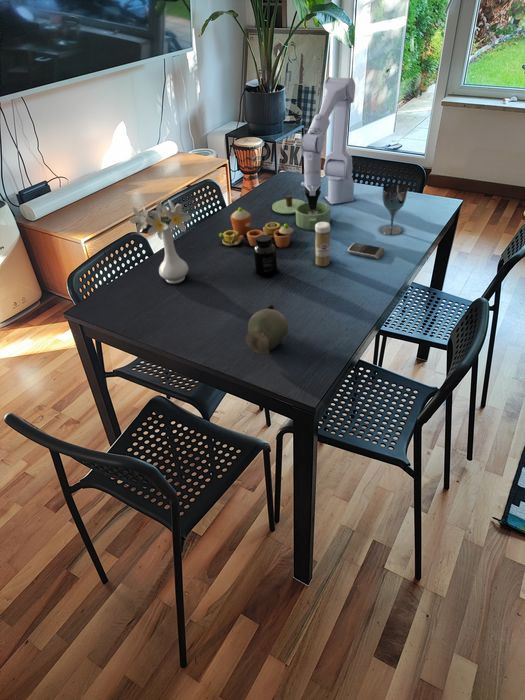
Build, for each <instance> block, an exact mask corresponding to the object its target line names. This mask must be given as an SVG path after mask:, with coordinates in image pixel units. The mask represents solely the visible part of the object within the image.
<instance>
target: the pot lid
mask: <svg viewBox="0 0 525 700" xmlns="http://www.w3.org/2000/svg"><path fill="white" fill-rule="evenodd" d="M302 203H306V202H305V200H302V199H297V198H293V195H291V194H286V195H285V198H284V199H280V200H277V201H275V202H273V204H272V205H271V209H272V210H273V211H274V212H276V213H277V214H282V215H283V214H284V215H292V214H293V215H294V214H296V207H297V206H298V205H300V204H302Z"/></svg>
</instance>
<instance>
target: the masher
mask: <svg viewBox="0 0 525 700" xmlns="http://www.w3.org/2000/svg"><path fill="white" fill-rule="evenodd" d="M317 214H318V211H314V210H312V211H308V215H317Z"/></svg>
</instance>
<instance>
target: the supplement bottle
mask: <svg viewBox="0 0 525 700" xmlns="http://www.w3.org/2000/svg"><path fill="white" fill-rule="evenodd" d="M253 255H254V256H253V258H254V267H255V273H256V275H257V276H259V277H261V278H271V277H273V276H275V275H277V273H278V262H277V261H278V260H277V248H276V245H275V244H274V243H273V237H271V236H270V235H260V236H258V237H257V238H256V246H254V247H253Z"/></svg>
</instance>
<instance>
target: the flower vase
mask: <svg viewBox="0 0 525 700" xmlns="http://www.w3.org/2000/svg"><path fill="white" fill-rule="evenodd" d="M167 202H168V204H167V205H165V206H163V204H162V203H161V202H158V203H157V204H156V206H155V210H154V209H153V210H150V211H148V209H146V207H145V206H142V210H141V211H139V210H138V209H137V208H136V207H135V206H133V207H132V211H133V214H134V215H135V216H131V217H130V218H129V222H130V223H131V224H136V232H137V233H138V234H139V233H142V232H143V230H145V229H147V227H148V225H149V226H151V227H149V229H148V230H147V235H148V236H150V237H151V236H154V235H155V234H157V237H158V238H159V240H162V242H163V248H164V257H163V260H162V262H161V263H160V264H159V267H158V273H159V276H160V277H161V278H162V279H163V280H165V281H166V283H168V284H179V283H182V282H183V281H184V280H185V279H186V276H187V275H188V273H189V265H188V263H187V262H186V261H185V260H184V259H183V258H181V257H180V256H179V254H178V253H177V250H176V248H175V243H174V239H173V230H174V229H175V228H176V227H177V228H178V229H179V230H180V231H181V232H184V233H185V232H186V231H187V227H186V225H185V222H188V221H190V220H191V218H192V216H191V215H190V214H188V213H186V212H184V211H183V205H182V204H181V203H177V204H176V205H175V204H174V203H173V201H171V200H170V199H167Z"/></svg>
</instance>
